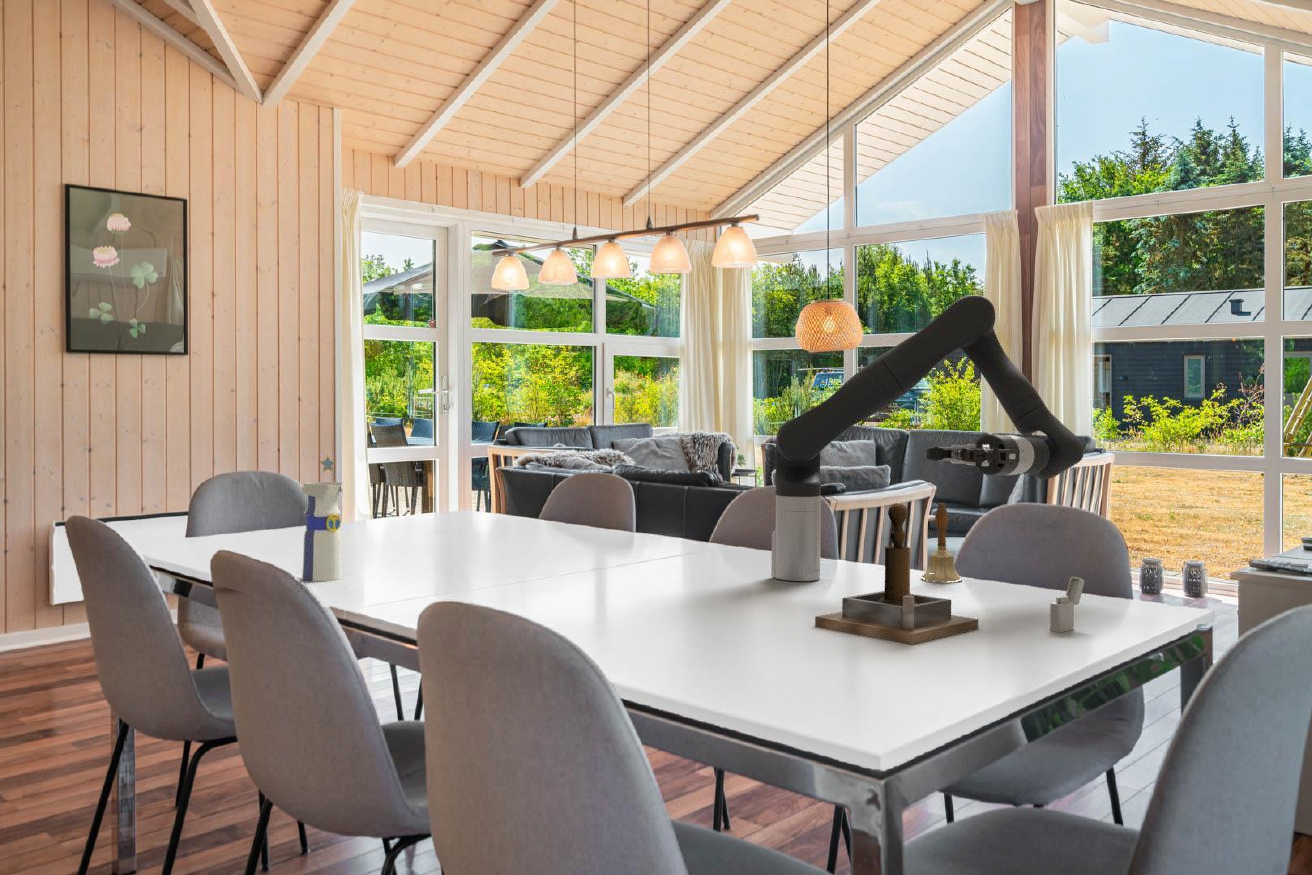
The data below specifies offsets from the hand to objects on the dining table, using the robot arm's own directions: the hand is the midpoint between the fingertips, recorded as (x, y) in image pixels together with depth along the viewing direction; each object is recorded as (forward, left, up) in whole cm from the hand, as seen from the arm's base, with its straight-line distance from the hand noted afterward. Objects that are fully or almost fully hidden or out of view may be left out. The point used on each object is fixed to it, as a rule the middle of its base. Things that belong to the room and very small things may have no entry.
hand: (947, 454), depth 184 cm
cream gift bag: (-99, -71, -27) cm, 124 cm away
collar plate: (+6, -24, -27) cm, 36 cm away
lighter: (+24, -4, -27) cm, 36 cm away
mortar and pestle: (+6, -23, -25) cm, 35 cm away
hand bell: (-18, +26, -27) cm, 42 cm away
